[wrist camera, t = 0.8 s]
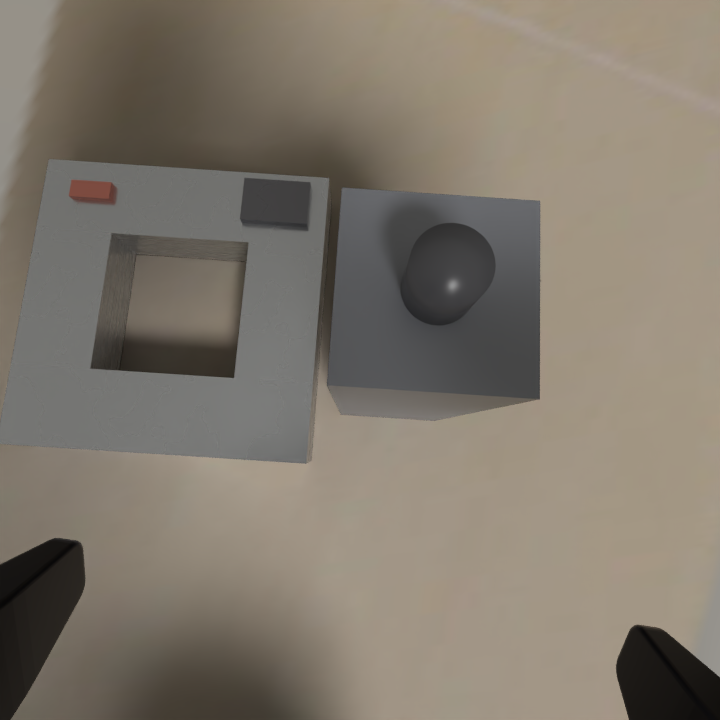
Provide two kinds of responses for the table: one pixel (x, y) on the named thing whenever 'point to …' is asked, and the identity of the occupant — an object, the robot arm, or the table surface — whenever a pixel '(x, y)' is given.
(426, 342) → the plug
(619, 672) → the robot arm
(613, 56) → the table surface
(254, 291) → the socket
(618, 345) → the table surface
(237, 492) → the table surface
